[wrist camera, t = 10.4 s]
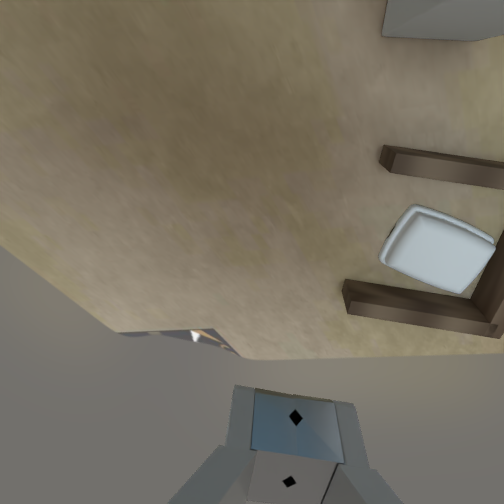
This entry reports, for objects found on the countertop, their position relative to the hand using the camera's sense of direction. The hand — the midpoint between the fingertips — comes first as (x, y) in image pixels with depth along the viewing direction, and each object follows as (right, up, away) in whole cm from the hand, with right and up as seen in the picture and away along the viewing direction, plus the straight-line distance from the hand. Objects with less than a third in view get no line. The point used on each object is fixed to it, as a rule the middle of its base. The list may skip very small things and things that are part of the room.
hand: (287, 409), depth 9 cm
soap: (+17, +5, +25) cm, 31 cm away
